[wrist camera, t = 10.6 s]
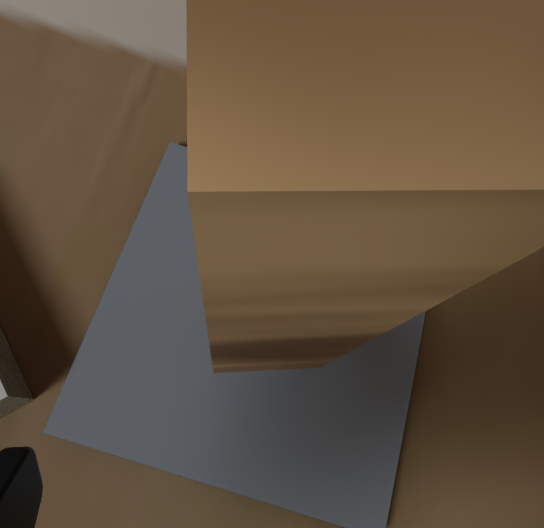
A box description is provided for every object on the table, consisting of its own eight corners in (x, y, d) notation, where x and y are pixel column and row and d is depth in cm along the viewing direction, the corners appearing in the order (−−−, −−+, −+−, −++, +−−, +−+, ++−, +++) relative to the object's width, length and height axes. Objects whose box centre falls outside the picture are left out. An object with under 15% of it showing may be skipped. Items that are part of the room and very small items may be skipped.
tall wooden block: (320, 367, 16) (650, 189, 4) (213, 373, 16) (187, 190, 3) (311, 267, 17) (542, -127, 5) (211, 269, 17) (186, -155, 4)
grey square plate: (436, 232, 19) (441, 227, 18) (378, 535, 15) (383, 539, 14) (171, 148, 19) (170, 141, 18) (48, 432, 15) (42, 432, 14)
